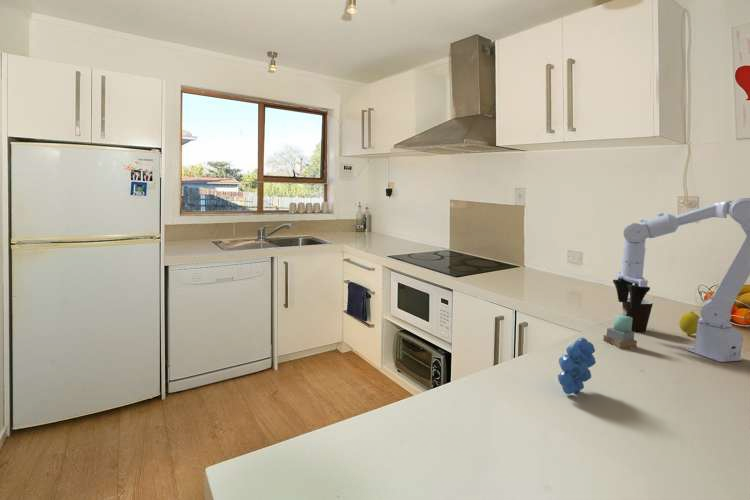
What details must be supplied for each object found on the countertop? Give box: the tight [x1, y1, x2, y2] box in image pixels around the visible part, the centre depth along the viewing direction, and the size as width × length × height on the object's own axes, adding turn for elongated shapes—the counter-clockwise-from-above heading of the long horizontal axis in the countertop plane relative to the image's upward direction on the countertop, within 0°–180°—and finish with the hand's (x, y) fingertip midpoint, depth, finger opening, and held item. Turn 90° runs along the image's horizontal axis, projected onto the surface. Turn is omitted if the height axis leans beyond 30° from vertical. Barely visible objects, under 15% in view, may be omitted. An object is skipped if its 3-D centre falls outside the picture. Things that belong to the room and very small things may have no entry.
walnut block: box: [602, 334, 638, 349], centre depth 119 cm, size 6×6×2 cm
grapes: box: [557, 337, 596, 395], centre depth 88 cm, size 12×7×12 cm, turn 123°
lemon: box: [678, 310, 701, 336], centre depth 130 cm, size 6×6×8 cm
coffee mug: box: [621, 297, 654, 334], centre depth 135 cm, size 12×9×10 cm
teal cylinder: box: [613, 314, 633, 332], centre depth 118 cm, size 4×4×4 cm
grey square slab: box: [606, 326, 635, 342], centre depth 119 cm, size 5×5×2 cm
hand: (628, 304), depth 125 cm, fingers open, 7 cm apart
